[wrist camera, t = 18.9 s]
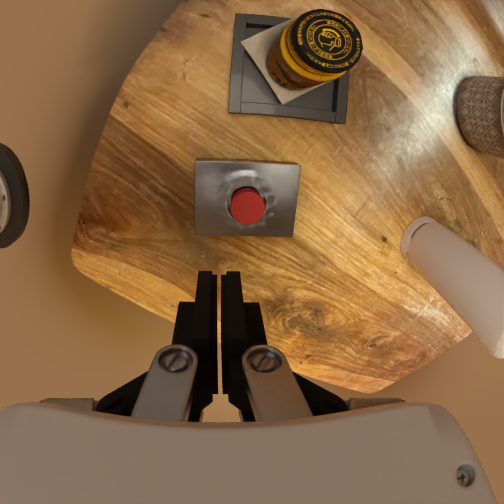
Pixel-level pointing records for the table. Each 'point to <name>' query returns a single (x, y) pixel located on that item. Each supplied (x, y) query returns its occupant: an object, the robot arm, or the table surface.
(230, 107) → the tray
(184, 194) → the table surface
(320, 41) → the condiment
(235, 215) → the button
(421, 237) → the bottle
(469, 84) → the planter
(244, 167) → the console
